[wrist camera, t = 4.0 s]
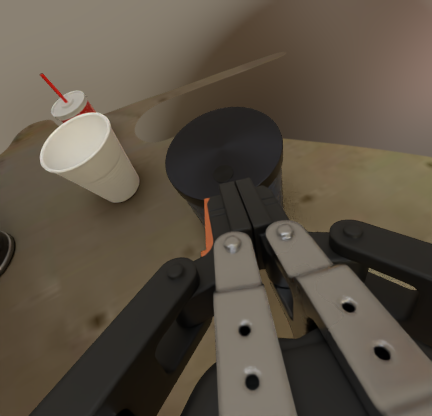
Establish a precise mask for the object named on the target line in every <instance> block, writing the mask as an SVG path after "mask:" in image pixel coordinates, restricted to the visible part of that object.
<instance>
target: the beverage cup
mask: <svg viewBox="0 0 432 416" xmlns="http://www.w3.org/2000/svg"><path fill="white" fill-rule="evenodd" d="M40 76H41V77H42V78H43V79H44V80H45V81H46V82H47V84H49V86H50V87H51V88H52V89H53V90H54V91H55V92H56V93H57V94H58V95H59V97H60V98H59V99H58V100H57V101H56V102H55V104H54V105H53V106H52V109H51V114H52V115H53V116H54V117H55V118H56V119H58V120H61V121H62V122H63V123H65V122H66V121H68V120H70V119H71V118H73V117H76V116H78V115H81V114H85V113H91V112H94V113H96V111H95V110H94V109H93V107H92V106H91V105H90V103H89V102H88V100H87V97H86V96H85V94H84V93H83V92H82V91H72V92H69V93H67V94H65V95H62V94H61V93H60V92H59V91H58V90H57V89H56V88H55V87H54V85H53V84H52V83H51V82H50V81H49V80H48V79H47V78H46V77H45V75H44V74H43V73H41V74H40Z"/></svg>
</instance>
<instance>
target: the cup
mask: <svg viewBox="0 0 432 416" xmlns="http://www.w3.org/2000/svg"><path fill="white" fill-rule="evenodd" d="M40 163H41V165H42V167H43V168H44V169H45V170H46V171H49V172H51V173H56V174H58V175H60V176H62V177H64V178H66V179H68V180H70V181H71V182H73V183H76V184H78V185H79V186H81V187H83V188H85V189H87V190H89V191H91V192H93V193H95V194H97V195H99V196H100V197H102V198H104V199H106V200H108V201H110V202H113V203H119V202H123V201H125V200H127V199H129V198H130V197H131V196H133V194H134V193H135V192H136V190H137V188H138V186H139V176H138V174H137V173H136V171H135V169H134V167H133V166H132V164H131V162H130V160H129V159H128V157H127V155H126V153H125V152H124V150H123V148H122V146H121V145H120V142H119V141H118V139H117V137H116V135H115V133H114V132H113V130H112V128H111V124H110V122H109V119H108V118H107V117H106V116H104V115H103V114H100V113H94V112H91V113H85V114H81V115H78V116H76V117H73V118H71V119H70V120H68V121H66V122H65V123H63V124H62V125H60V126H59V127H58V128H57V129H56V130H55V131H54V132H53V133H52V134H51V135H50V136H49V137H48V139H47V140H46V142H45V143H44V145H43V147H42V150H41V153H40Z"/></svg>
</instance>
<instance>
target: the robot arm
mask: <svg viewBox="0 0 432 416" xmlns="http://www.w3.org/2000/svg"><path fill="white" fill-rule="evenodd" d="M219 189H220V194H221V195H217V196H212V197H210V199H209V201H208V203H207V207H208V213H209V219H210V225H211V230H212V236H213V245H212V247H211V249H210V250H209V252H208V253H207V254H205V255H204V256H203V257H201V258H199V259H197V260H195V261H192V260H190V259H188V258H175V259H172V260H170V261H168V262H166V263H165V264H164V265H163V266H162V267H161V268H160V269H159V270H158V271H157V272H156V273H155V274H154V275H153V277H152V278H151V279H150V280H149V281H148V282H147V283H146V284H145V286H144V287H143V288H142V289H141V290H140V291H139V292H138V293H137V295H136V296H135V297H134V298H133V299H132V300H131V301H130V302H129V303H128V305H127V306H126V307H125V308H124V309H123V310H122V311H121V312H120V314H119V315H118V316H117V317H116V318H115V319H114V320H113V321H112V323H111V324H110V325H109V326H108V327H107V328H106V329H105V330H104V332H103V333H102V334H101V335H100V336H99V337H98V338H97V339H96V341H95V342H94V343H93V344H92V345H91V346H90V347H89V348H88V350H87V351H86V352H85V353H84V354H83V355H82V356H81V357H80V359H79V360H78V361H77V362H76V363H75V364H74V365H73V366H72V368H71V369H70V370H69V371H68V372H67V373H66V374H65V375H64V376H63V378H62V379H61V380H60V381H59V382H58V383H57V384H56V385H55V387H54V388H53V389H52V390H51V391H50V392H49V393H48V394H47V396H46V397H45V398H44V399H43V400H42V401H41V402H40V403H39V405H38V406H37V407H36V408H35V409H34V410H33V411H32V412H31V414H30V415H29V416H156V415H157V414H158V412H159V410H160V409H161V407H162V405H163V404H164V402H165V400H166V399H167V397H168V395H169V393H170V392H171V390H172V388H173V387H174V385H175V383H176V382H177V380H178V378H179V377H180V375H181V373H182V371H183V370H184V368H185V366H186V365H187V363H188V361H189V360H190V358H191V356H192V355H193V353H194V351H195V349H196V348H197V346H198V344H199V343H200V341H201V339H202V338H203V336H204V334H205V333H206V331H207V329H208V327H209V326H210V324H211V321H212V317H213V316H214V321H215V342H216V363H214V364H213V365H212V366H211V367H210V368H209V369H208V370H207V371H206V372H205V373H204V375H203V376H202V377H201V378H200V380H199V381H198V383H197V384H196V386H195V388H194V390H193V391H192V393H191V395H190V397H189V399H188V401H187V403H186V405H185V407H184V409H183V411H182V413H181V415H180V416H432V244H431V243H427V242H424V241H421V240H418V239H415V238H411V237H408V236H405V235H402V234H399V233H396V232H392V231H389V230H386V229H383V228H380V227H376V226H373V225H370V224H367V223H364V222H360V221H356V220H341V221H338V222H336V223H334V224H333V225H332V226H331V228H330V232H307V231H306V230H305V229H304V227H303V226H302V225H300V224H299V223H297V222H294V221H290V220H289V218H288V217H287V215H286V214H285V212H284V210H283V209H282V207H281V205H280V204H279V203H278V201H277V199H276V197H275V196H274V194H273V192H272V191H271V190H270V189H269V188H267V187H265V186H264V185H261V186H257V187H255V186H254V184H253V182H252V180H251V179H250V178H245V179H241V180H236V181H235V183H234V181H232V182H227V183H223V184H219ZM13 252H14V240H13V238H12V236H11V235H9V234H7V233H5V232H2V231H0V275H1V274H2V273H3V272H4V270H5V269H6V267H7V266H8V264H9V262H10V260H11V258H12V256H13ZM258 268H259V269H258ZM369 268H371V269H374V270H376V271H378V272H381V273H383V274H386V275H388V276H390V277H393V278H395V279H398V280H400V281H402V282H405V283H407V284H409V285H411V286H413V287H414V288H416V289H417V290H411V289H408V288H405V287H403V286H400V285H398V284H396V283H393V282H391V281H389V280H386V279H384V278H382V277H379V276H377V275H375V274H372V273H370V272H368V269H369ZM261 269H266V272H267V274H268V277H269V279H270V284H271V287H272V289H273V291H274V293H275V295H276V297H277V299H278V301H279V303H280V306H281V308H282V310H283V312H284V314H285V316H286V318H287V320H288V322H289V324H290V327H291V330H292V333H293V337H294V339H288V338H277V334H276V330H275V326H274V322H273V318H272V314H271V310H270V306H269V302H268V298H267V294H266V290H265V287H264V284H262V281H261V277H260V273H259V270H261Z"/></svg>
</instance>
